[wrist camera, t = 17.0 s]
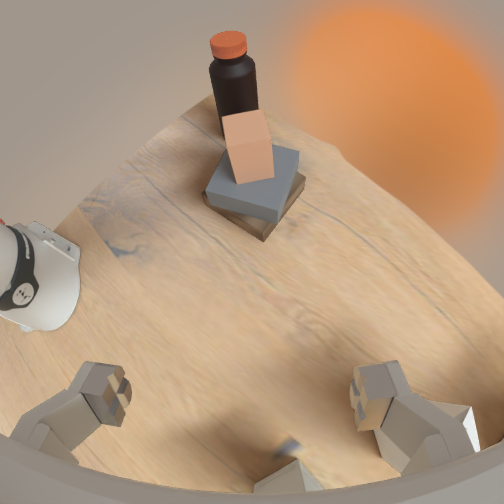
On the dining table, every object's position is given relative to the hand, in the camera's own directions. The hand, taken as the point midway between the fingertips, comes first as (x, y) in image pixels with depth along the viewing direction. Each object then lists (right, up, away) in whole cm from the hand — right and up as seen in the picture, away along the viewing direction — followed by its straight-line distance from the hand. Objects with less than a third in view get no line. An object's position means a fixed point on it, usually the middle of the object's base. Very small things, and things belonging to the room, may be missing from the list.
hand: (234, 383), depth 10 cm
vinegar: (-1, +26, +44) cm, 51 cm away
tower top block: (+1, +14, +35) cm, 38 cm away
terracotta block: (+1, +16, +31) cm, 35 cm away
